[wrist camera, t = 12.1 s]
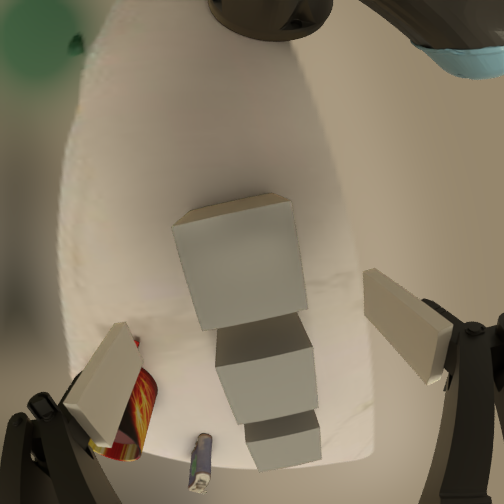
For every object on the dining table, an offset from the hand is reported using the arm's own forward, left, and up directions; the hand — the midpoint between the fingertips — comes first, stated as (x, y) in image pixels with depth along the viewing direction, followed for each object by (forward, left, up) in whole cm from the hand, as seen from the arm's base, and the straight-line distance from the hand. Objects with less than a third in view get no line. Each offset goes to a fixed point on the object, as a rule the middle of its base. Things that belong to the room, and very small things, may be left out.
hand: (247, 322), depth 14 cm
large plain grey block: (+21, +15, -18) cm, 31 cm away
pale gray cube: (+11, +7, -18) cm, 22 cm away
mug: (+24, -9, -18) cm, 31 cm away
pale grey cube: (0, 0, -18) cm, 18 cm away
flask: (+38, +7, -18) cm, 42 cm away
